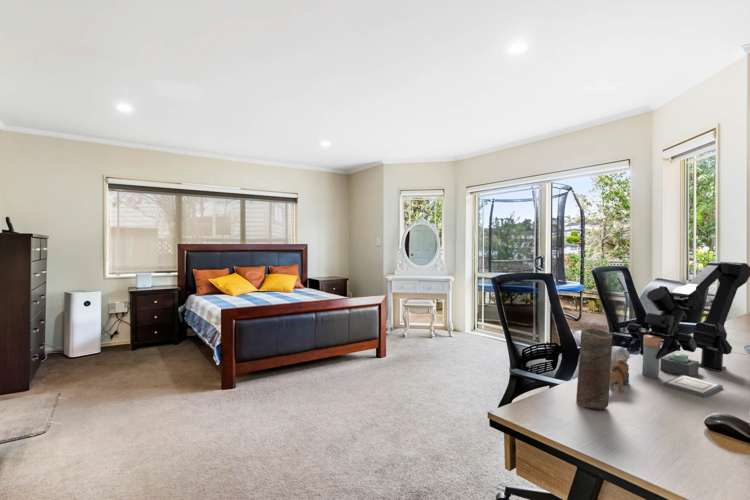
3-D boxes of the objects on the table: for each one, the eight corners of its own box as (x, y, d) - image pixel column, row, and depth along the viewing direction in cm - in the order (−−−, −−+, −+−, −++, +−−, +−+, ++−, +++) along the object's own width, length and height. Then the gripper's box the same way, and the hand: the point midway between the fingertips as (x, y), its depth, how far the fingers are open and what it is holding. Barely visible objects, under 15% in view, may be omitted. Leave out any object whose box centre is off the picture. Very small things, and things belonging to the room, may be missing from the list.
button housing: (670, 366, 135) (670, 355, 134) (698, 373, 128) (698, 361, 128) (660, 369, 130) (660, 358, 130) (688, 377, 124) (689, 365, 123)
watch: (631, 381, 118) (632, 347, 118) (620, 387, 114) (622, 351, 113) (611, 376, 123) (612, 342, 123) (600, 381, 118) (602, 346, 118)
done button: (674, 360, 132) (674, 352, 132) (690, 364, 128) (690, 355, 128) (669, 362, 130) (669, 353, 130) (684, 366, 126) (685, 357, 126)
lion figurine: (615, 384, 115) (616, 355, 115) (633, 391, 111) (634, 361, 110) (581, 391, 110) (582, 360, 110) (597, 398, 105) (599, 366, 105)
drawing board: (682, 377, 123) (682, 374, 123) (722, 388, 115) (722, 384, 115) (663, 385, 116) (663, 381, 116) (705, 397, 107) (705, 393, 107)
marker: (645, 372, 127) (647, 334, 127) (661, 376, 123) (663, 337, 123) (639, 374, 125) (641, 335, 125) (655, 379, 121) (657, 339, 121)
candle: (605, 402, 102) (608, 329, 102) (612, 414, 95) (616, 336, 95) (573, 398, 105) (576, 326, 104) (578, 409, 98) (582, 332, 97)
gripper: (630, 300, 134) (610, 334, 129) (694, 309, 117) (673, 349, 112) (642, 320, 137) (622, 354, 133) (705, 332, 121) (685, 371, 116)
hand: (648, 356), depth 123 cm, fingers closed on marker, 4 cm apart
